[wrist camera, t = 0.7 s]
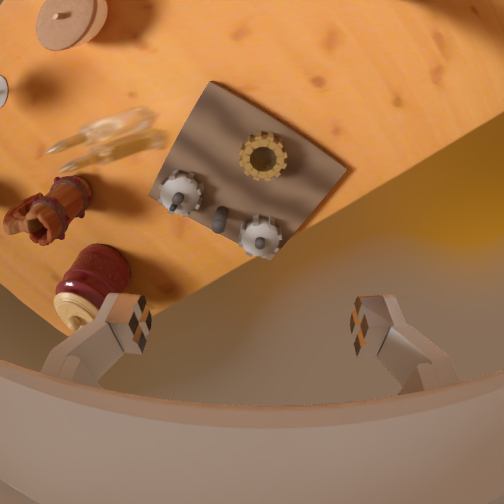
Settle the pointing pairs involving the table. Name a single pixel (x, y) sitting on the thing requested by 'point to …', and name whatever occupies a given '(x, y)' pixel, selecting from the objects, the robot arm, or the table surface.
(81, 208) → the mug
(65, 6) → the lidded jar
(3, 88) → the wineglass
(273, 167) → the brass gear
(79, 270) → the canister
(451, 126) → the table surface
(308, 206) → the gear board
